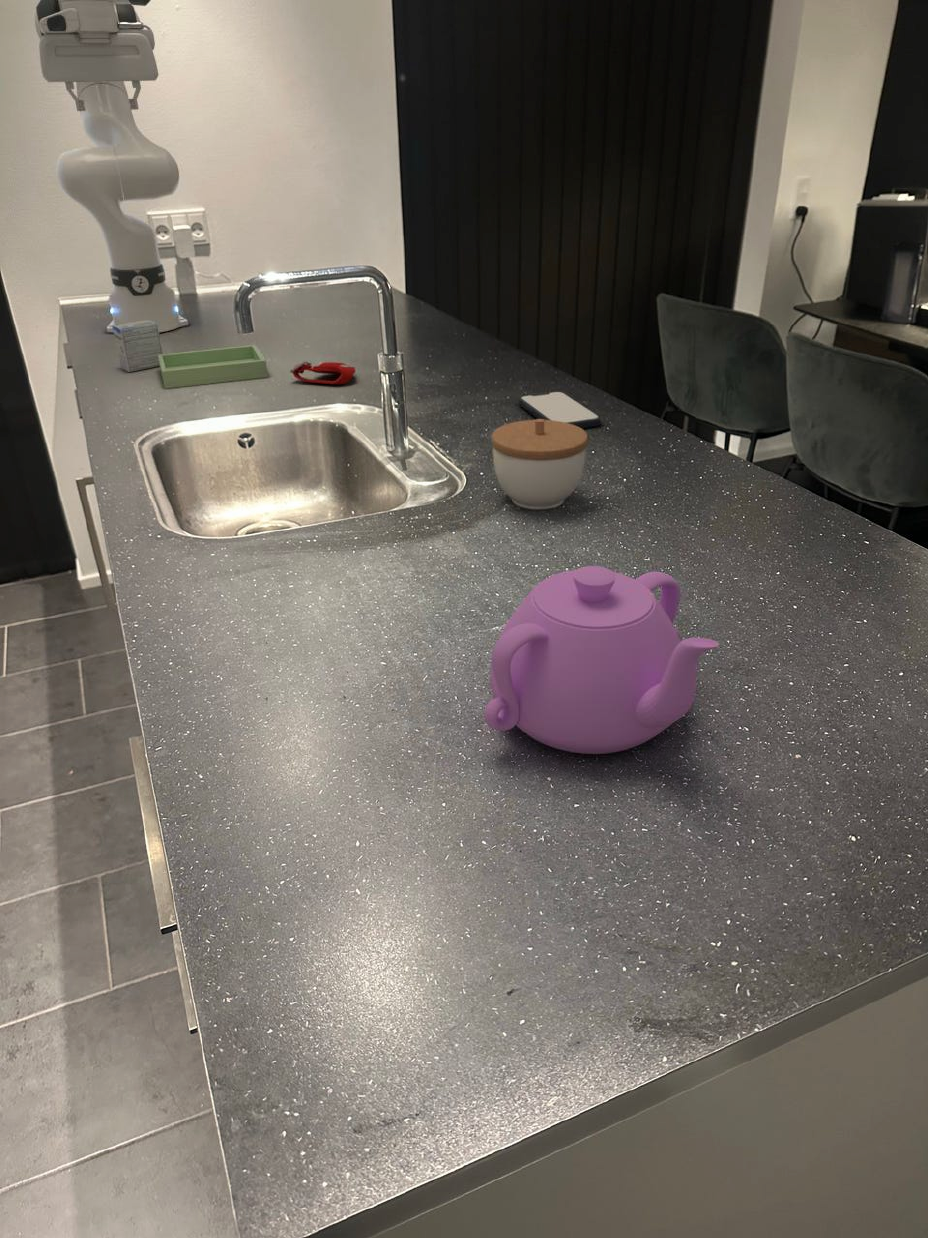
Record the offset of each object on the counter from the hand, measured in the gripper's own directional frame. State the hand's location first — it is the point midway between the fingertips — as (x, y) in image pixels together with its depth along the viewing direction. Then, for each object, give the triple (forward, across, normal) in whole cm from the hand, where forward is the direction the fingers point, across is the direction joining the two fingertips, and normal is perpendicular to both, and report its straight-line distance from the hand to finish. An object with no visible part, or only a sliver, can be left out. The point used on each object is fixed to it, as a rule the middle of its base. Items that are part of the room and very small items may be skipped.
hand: (108, 110), depth 169 cm
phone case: (+47, -62, +69) cm, 104 cm away
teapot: (+47, -28, +149) cm, 159 cm away
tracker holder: (+46, -30, +31) cm, 63 cm away
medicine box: (+46, +3, +6) cm, 47 cm away
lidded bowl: (+47, -44, +101) cm, 119 cm away
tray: (+46, -10, +17) cm, 50 cm away
